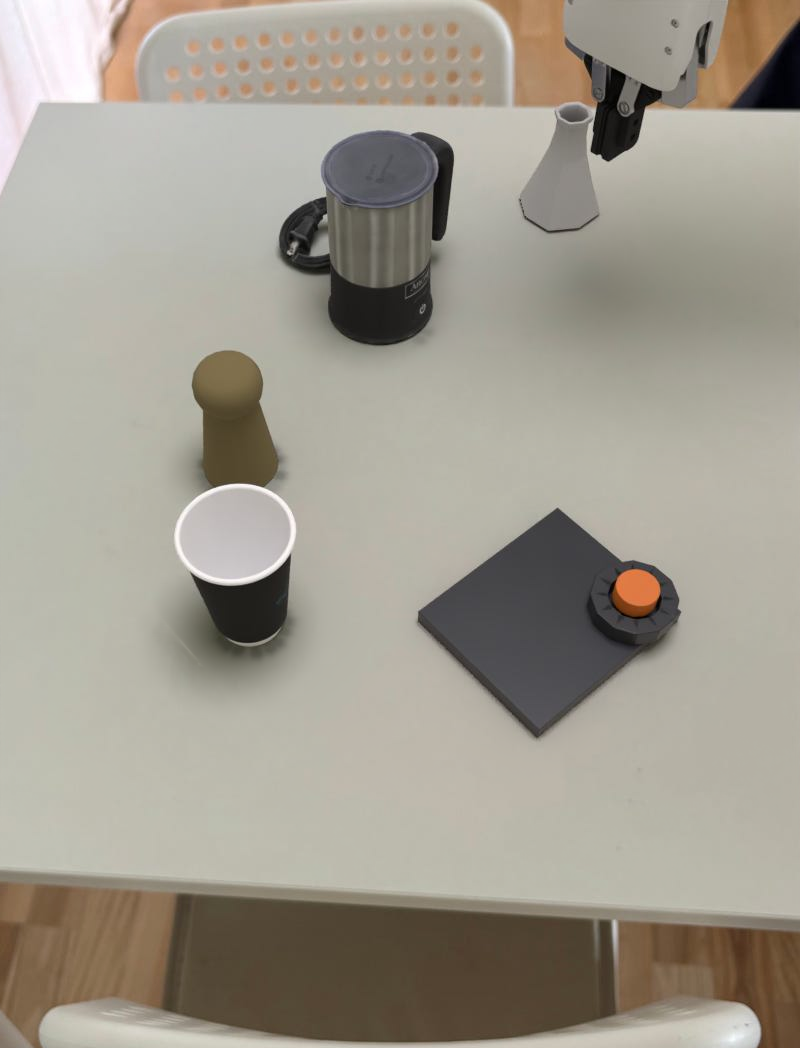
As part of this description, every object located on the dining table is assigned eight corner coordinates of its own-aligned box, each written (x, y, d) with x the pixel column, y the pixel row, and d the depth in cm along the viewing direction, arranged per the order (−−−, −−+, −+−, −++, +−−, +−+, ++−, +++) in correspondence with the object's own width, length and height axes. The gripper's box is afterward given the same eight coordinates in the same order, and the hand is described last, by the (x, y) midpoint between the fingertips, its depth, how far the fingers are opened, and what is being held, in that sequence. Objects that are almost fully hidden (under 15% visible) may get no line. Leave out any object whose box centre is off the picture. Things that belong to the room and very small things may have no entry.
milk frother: (415, 356, 94) (421, 214, 81) (242, 320, 97) (222, 178, 85) (458, 247, 101) (469, 102, 89) (296, 217, 104) (285, 72, 92)
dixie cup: (325, 634, 79) (318, 548, 70) (226, 685, 77) (206, 603, 68) (273, 555, 83) (260, 464, 74) (178, 602, 81) (153, 514, 72)
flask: (505, 196, 105) (516, 101, 96) (572, 174, 106) (588, 78, 98) (543, 242, 101) (558, 147, 92) (612, 218, 102) (633, 123, 94)
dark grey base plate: (559, 514, 84) (564, 491, 81) (686, 622, 78) (696, 600, 76) (417, 621, 79) (418, 599, 77) (541, 743, 74) (547, 724, 71)
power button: (632, 573, 78) (636, 561, 76) (665, 601, 76) (670, 589, 75) (602, 597, 77) (606, 585, 75) (635, 625, 75) (639, 613, 74)
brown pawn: (235, 506, 86) (217, 413, 77) (188, 462, 88) (165, 366, 79) (294, 464, 88) (283, 368, 79) (246, 422, 90) (231, 325, 81)
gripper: (810, -96, 64) (727, 173, 79) (611, -177, 70) (570, 85, 86) (727, -46, 61) (659, 221, 76) (529, -136, 68) (502, 126, 83)
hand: (612, 148), depth 81 cm, fingers closed
